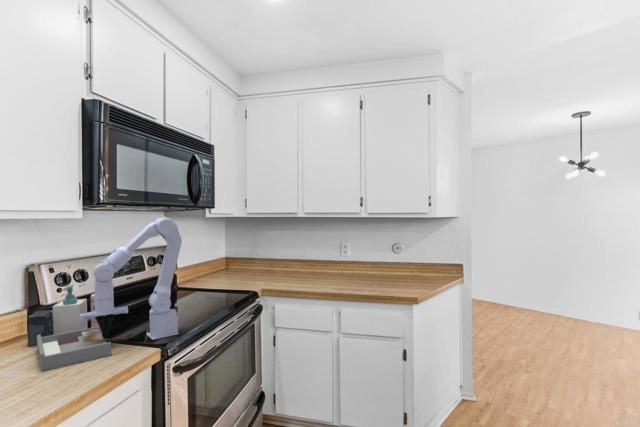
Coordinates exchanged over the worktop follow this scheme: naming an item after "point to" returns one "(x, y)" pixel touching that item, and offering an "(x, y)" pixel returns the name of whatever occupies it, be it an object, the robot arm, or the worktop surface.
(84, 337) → the maple block
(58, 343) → the trap tray
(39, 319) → the box
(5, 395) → the worktop surface
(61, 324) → the soap bottle
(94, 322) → the beverage can
